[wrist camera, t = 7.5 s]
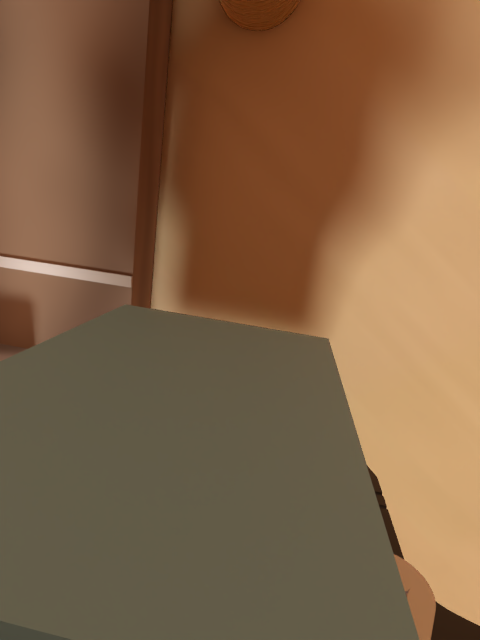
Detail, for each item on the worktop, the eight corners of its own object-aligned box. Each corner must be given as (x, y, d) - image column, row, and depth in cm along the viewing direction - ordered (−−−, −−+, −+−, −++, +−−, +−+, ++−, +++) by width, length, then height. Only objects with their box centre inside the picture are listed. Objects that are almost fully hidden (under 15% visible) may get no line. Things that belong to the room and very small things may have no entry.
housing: (328, 338, 11) (451, 740, 2) (292, 516, 12) (286, 1150, 4) (125, 304, 11) (-361, 526, 3) (114, 477, 13) (-229, 954, 4)
